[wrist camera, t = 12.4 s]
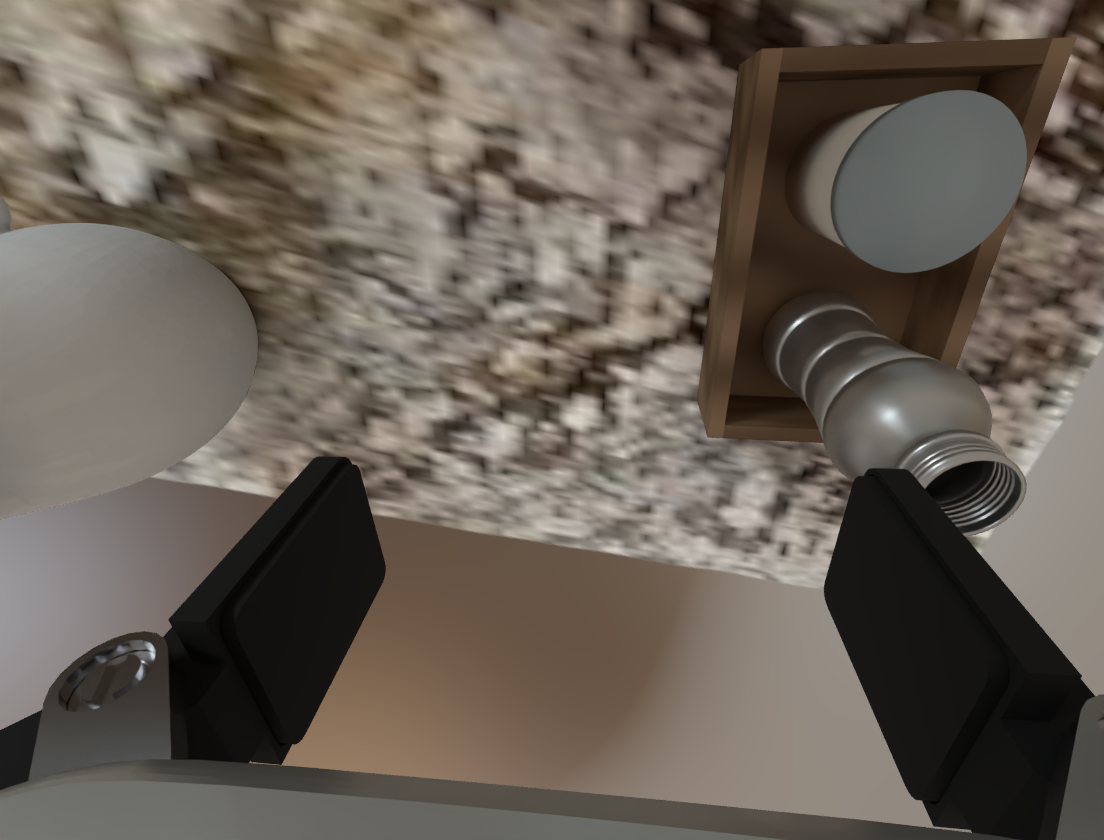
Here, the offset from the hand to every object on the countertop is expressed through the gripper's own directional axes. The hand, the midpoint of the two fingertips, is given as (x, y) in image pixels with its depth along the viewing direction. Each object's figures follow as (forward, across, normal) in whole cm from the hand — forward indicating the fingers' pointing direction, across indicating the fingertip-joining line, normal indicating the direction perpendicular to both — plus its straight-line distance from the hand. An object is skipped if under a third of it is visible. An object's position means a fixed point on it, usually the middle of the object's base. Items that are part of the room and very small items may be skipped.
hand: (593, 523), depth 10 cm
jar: (+29, -14, -3) cm, 33 cm away
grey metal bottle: (+29, -14, +7) cm, 33 cm away
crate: (+30, -14, +2) cm, 33 cm away
